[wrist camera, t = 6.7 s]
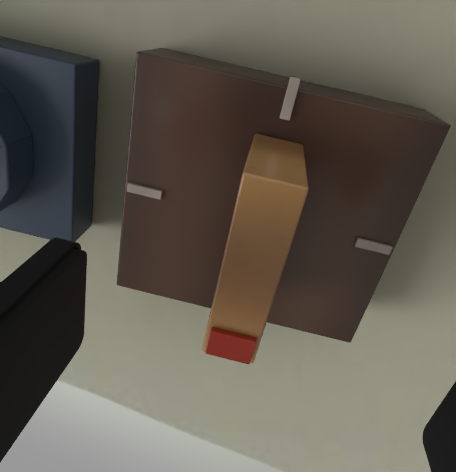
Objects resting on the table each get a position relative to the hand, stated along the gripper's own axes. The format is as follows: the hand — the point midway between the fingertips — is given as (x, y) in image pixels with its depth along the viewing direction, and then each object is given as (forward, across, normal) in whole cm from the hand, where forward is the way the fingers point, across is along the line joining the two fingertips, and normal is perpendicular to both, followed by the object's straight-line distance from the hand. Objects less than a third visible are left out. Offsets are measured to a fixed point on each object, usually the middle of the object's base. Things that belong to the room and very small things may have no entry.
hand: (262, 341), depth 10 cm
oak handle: (+7, +1, 0) cm, 7 cm away
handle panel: (+10, +1, 0) cm, 10 cm away
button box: (+10, +14, 0) cm, 17 cm away
